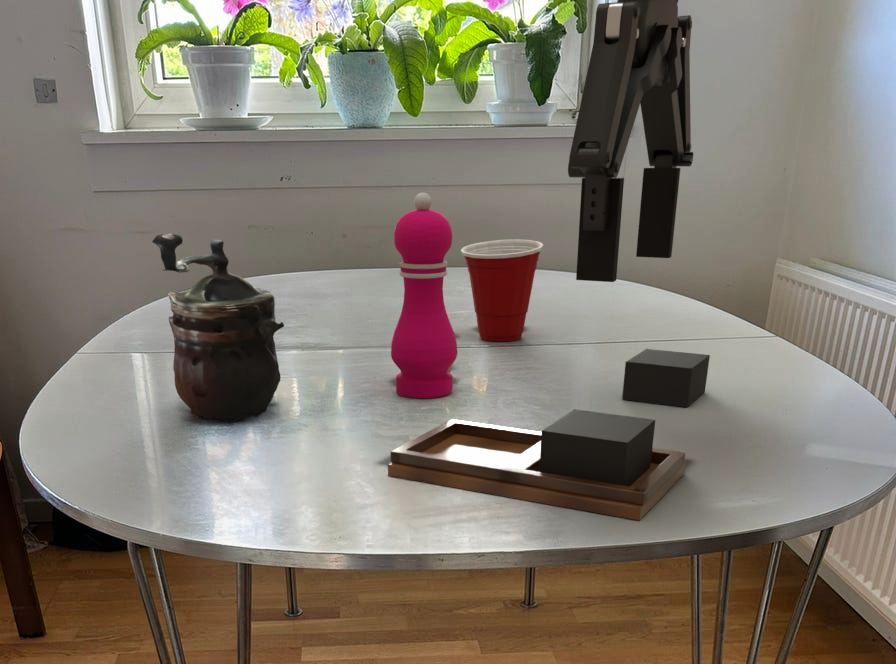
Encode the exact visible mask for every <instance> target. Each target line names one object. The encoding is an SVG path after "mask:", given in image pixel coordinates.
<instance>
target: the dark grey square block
mask: <svg viewBox="0 0 896 664" xmlns="http://www.w3.org/2000/svg"><path fill="white" fill-rule="evenodd" d="M710 357H711V356H710V354H703V353H694V352H693V353H692V352H682V351H674V350H673V351H672V350H663V349H651V348H645V349H643V350H642V351H640V352H639V353H637V354H636V355H634V356H632V357H631V358H629V359H628V360H626V361H625V363H624V374H623V375H624V376H623V385H622V396H621V397H622V398H621V400H623V401H631V402H637V403H638V402H639V403H647V404H657V405H663V406H664V405H665V406H671V407H672V406H673V407H681V408H688V407H690V406H691V405H692V404H693V403H694V402H695V401H697V399H699V398H700V397H701V396H702V395H703V394H705V393H706V387H707V378H708V373H709V365H710Z"/></svg>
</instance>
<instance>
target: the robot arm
mask: <svg viewBox="0 0 896 664" xmlns="http://www.w3.org/2000/svg"><path fill="white" fill-rule="evenodd" d="M678 3H679V0H617V1H616V2H615V1H614V2H603V3H598V4H597V7H596V11H595V21H594V30H593V31H594V32H593V41H592V49H591V52H590V56H589V57H590V58H589V62H588V67H587V72H586V77H585V81H584V86H583V91H582V95H581V99H580V105H579V109H578V114H577V118H576V120H577V121H576V124H575V128H574V133H573V139H572V142H571V148H570V152H569V157H568V165H567V174H568V178H581V187H580V189H581V190H580V204H579V205H580V206H579V222H578V223H579V225H578V242H577V245H578V246H577V257H576V274H575V275H576V276H575V281H587V282H588V281H589V282H601V283H602V282H605V283H614V282H616V281H617V278H618V277H617V276H618V263H619V262H618V261H619V248H620V239H621V237H620V236H621V225H622V224H621V223H622V209H623V199H624V186H625V184H624V183H625V178H624V177H618V175H619V173H620V170H621V167H622V164H623V160H624V157H625V154H626V150H627V147H628V144H629V141H630V138H631V134H632V131H633V128H634V125H635V122H636V119H637V115H638V112H639V109H640V110H641V118H642V124H643V130H644V138H645V144H646V152H647V160H648V164H649V166H650V167H643V170H642V171H643V172H642V173H643V174H642V185H641V197H640V207H639V217H638V231H637V242H636V253H635V257H636V258H655V259H656V258H657V259H670V258H672V255H673V244H674V235H675V226H676V218H677V217H676V216H677V208H678V207H677V205H678V198H679V197H678V196H679V188H680V187H679V186H680V176H681V167H692V164H693V161H694V151H692V138H691V137H692V135H691V133H692V131H691V130H692V129H691V128H692V127H691V125H692V124H691V65H690V64H691V63H690V62H691V59H690V58H691V57H690V49H691V37H692V28H693V19H692V15H690V14H688V15H679V14H678V13H679V7H678Z"/></svg>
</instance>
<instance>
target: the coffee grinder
mask: <svg viewBox="0 0 896 664" xmlns="http://www.w3.org/2000/svg"><path fill="white" fill-rule="evenodd" d="M152 243H153V244H155V245H156V246H157V247H158V248H159V250H160V251H159V252H160V259H161V261H162V263H163V267H164V269H162V271H163V272H165V271H167V272H169V271H170V272H175V273H179V274H180V273H188V272H189V271H190V266H189V265H190V264H197V265H202V266H206V267H207V266H208V267H209V268H210V269H211V274H209V275H206V276H204V277H201V278H200V279H198V280H197V281H196V282H195V283H194V284H193V286H192V287H191V288H190V289H186V290H184V291H180V292H168V293H167V295H168V298H169V300H170V301H169V302H170V311H171V312H172V314H173V315H172V316H168V322H169V325H170V329H171V332H172V335H173V344H174V350H173V351H174V352H173V354H174V355H173V363H172V365H173V368H172V369H173V373H174V387H175V390H176V393H177V395H178V397H179V398H180V399H181V400H182V402H184V404H185V405H186V406H187V407H188V409H189V410H190V412H191V413H192V414H193V415H195V416H196V417H197V418H198V419H203V418H205V419H208V420H215V419H217V420H220V421H224V422H226V423H227V422H228V423H227V424H230V423H235V422H237V421H238V420H240V419H243V418H245V417H246V418H247V417H250V416H254V417H256V418H257V417H259V416H261V415H262V414H265V412H267V408H268V406H269V405H270V404H271V402H272V401H273V397H274V394H276V391H277V389H278V386H279V384H280V381H281V373H280V372H281V371H280V366H279V361H278V356H277V350H276V342H275V340H274V337H275V336H274V335H275V334H276V332H278V331H279V330H280V329H282V328H284V327H285V324H284V322H283V321H280V323H278V322H276V312H275V311H276V310H275V309H276V300H275V296H274V294H273V293H272V291H270V290H267V289H265V288H258V287H254V286H253V285H252V284H251V283H250V282H249V281H248V280H246V279H245V278H243V277H241V276H238V275H236V274H232V273H230V272H229V271H228V265H229V261H230V260H229V258H228V257H227V255H226V254H225V252H224V241H223V240H221V239H212V240H210V243H209V244H210V245H209V246H210V251H211V254H206V255H198V256H186V257H183V258H181V259H180V260H178V261H177V253H176V250H177V247H180V245H182V244H183V243H184V238H183V236H182V235H180V234H177V233H160V234H157V235H155V237H154V238H153V239H152Z"/></svg>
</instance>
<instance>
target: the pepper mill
mask: <svg viewBox="0 0 896 664" xmlns="http://www.w3.org/2000/svg"><path fill="white" fill-rule="evenodd" d="M432 201H433V200H432V198H431V196H430V194H429V193H426V192H419V193H418V194H416V196H415V197H414V201H413V205H414V207H415V209H414V210H411V211H409V212H407V213H405V214H403V215H402V216H401V217H400V218H399V219H398V221H397V223H396V225H395V228H394V232H393V242H394V244H393V245H394V247H395V249H396V250H397V252H398V253H399V254H400V256H401V258H402V260H401V261H399V267H400V271H399V276H401V278H402V277H403V289H404V291H403V303H402V308H401V312H400V315H399V318H398V321H397V324H396V326H395V328H394V332H393V335H392V339H391V343H390V344H391V345H390V347H391V348H390V357H391V360H392V362H393V363H394V365H395V366H396V367H397V369H399V371H400V372H399V373H397V374H396V376H395V391H396V393H397V394H398V395H400V396H402V397H404V398H411V399H437V398H441V397H446V396H448V395H450V394H451V393H452V392H453V387H454V386H453V383H454V381H453V378H454V377H453V374H452V373H451V372H450V373H449V372H447V371H448V369H449V368H450V369H451V366H452V365H453V364H454V362H455V361H456V360H457V357H458V343H457V338H456V334H455V331H454V328H453V326H452V324H451V321H450V319H449V316H448V313H447V310H446V305H445V299H444V289H443V288H444V277H445V276H447V275H448V271H447V266H448V262H447V260H445V256H446V255H447V254H448V252H449V251H450V249H451V247H452V244H453V230H452V226H451V223H450V222H449V220H448V219H447V218H446V216H444V215H443V214H442V213H440V212H438V211H436V210H433V209H431V207H432V203H433V202H432Z"/></svg>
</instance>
